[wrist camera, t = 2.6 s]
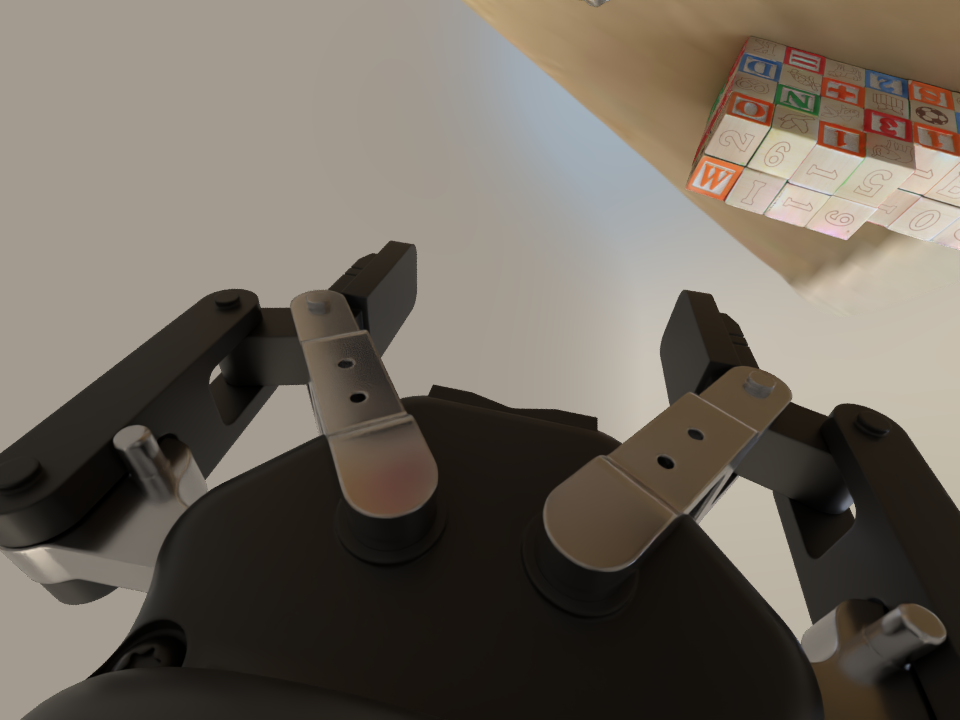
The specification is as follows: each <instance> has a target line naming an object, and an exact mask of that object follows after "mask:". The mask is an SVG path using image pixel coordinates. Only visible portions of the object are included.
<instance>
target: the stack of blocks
mask: <svg viewBox="0 0 960 720" xmlns="http://www.w3.org/2000/svg"><path fill="white" fill-rule="evenodd" d="M685 189H687V190H690V191H693V192H696V193H699V194H703V195H706V196H708V197H712V198H715V199H718V200H721V201H722V200H724V202H725V203H726V204H728V205H732V206H735V207H738V208H741V209H745V210H748V211H751V212H754V213H758V214H764V215H765V216H766V217H770V218H773V219H776V220H780V221H783V222H786V223H790V224H793V225H796V226H799V227H806V228H808V229H811V230H814V231H817V232H821V233H824V234H827V235H830V236H834V237H837V238H841V239H844V240H847V239H848V238H849V237H850V236H851V235H852V234H853V233H854V232H855V231H856V230H857V229H858V228H859V227H860V226H861V225H862V224H863V223H864V222H865V221H867V222H870V223H873V224H877V225H880V226H883V227H886V228H887V229H889V230H892V231H895V232H899V233H902V234H905V235H908V236H911V237H915V238H918V239H921V240H924V241H932V242H934V243H937V244H940V245H944V246H947V247H950V248H953V249H956V250H960V93H956V92H950V91H949V90H946V89H942V88H939V87H935V86H931V85H928V84H924V83H921V82H917V81H913V80H905V79H901V78H898V77H893V76H890V75H886V74H883V73H879V72H875V71H872V70H865V69H862V68H859V67H856V66H852V65H848V64H844V63H841V62H837V61H833V60H830V59H826V58H825V57H823V56H820V55H817V54H813V53H809V52H806V51H802V50H799V49H795V48H791V47H786V46H784V45H782V44H778V43H774V42H771V41H767V40H764V39H760V38H756V37H752V36H749V37H748V39H747V40H746V42H745V44H744V46H743V48H742V50H741V52H740V54H739V56H738V58H737V60H736V62H735V64H734V66H733V68H732V70H731V72H730V74H729V77H728V79H727V81H726V83H725V84H724V86H723V88H722V90H721V92H720V94H719V96H718V98H717V100H716V102H715V104H714V105H713V107H712V109H711V112H710V115H709V118H708V121H707V124H706V128H705V130H704V133H703V136H702V139H701V142H700V145H699V147H698V149H697V152H696V155H695V158H694V161H693V164H692V169H691V172H690V175H689V178H688V181H687V184H686V187H685Z"/></svg>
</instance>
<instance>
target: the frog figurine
mask: <svg viewBox="0 0 960 720" xmlns="http://www.w3.org/2000/svg"><path fill="white" fill-rule="evenodd" d="M585 1H586V2H587V3H588V4H589V5H590V6H594V7H599V6H600V5H602V4H603V3H605V2H607V1H609V0H585Z"/></svg>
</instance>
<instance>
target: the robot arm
mask: <svg viewBox="0 0 960 720" xmlns="http://www.w3.org/2000/svg"><path fill="white" fill-rule="evenodd" d="M416 253H417V252H416V247H415V245H414V244H408V243H402V242H396V241H389V242H388V243H387V244H386V246H385V247H384V248H383V249H382V250H381V251H380V252H379V253H378V254H375V253H372V254H369V255H367V256H365V257H362V258H360V259H359V260H358V261H357V262H356V263H355V264H354V265H353V266H352V267H351V268H350V269H348V270H347V271H346V272H345V275H342V276H341V277H340V278H339V279H338V280H337V281H336V282H335V283H334V284H333V285H332V286H331V287H330V288H329V289H328V290H314V291H308V292H305V293H302V294H300V295H298V296H297V297H295V298H294V299H293V300H292V301H291V303H290V308H261V307H260V304H259V300H258V296H257V295H256V294H255V293H253V292H251V291H248V290H244V289H228V290H222V291H218V292H214V293H212V294H209V295H207V296H206V297H204V298H202V299H201V300H200V301H198V302H197V303H196V304H195V305H193V306H192V307H191V308H190V309H188V310H187V311H185V312H184V313H183V314H182V315H180V316H179V317H178V318H177V319H175V320H174V321H172V322H171V323H170V324H169V325H167V326H166V327H165V328H163V329H162V330H161V331H160V332H158V333H157V334H156V335H154V336H153V337H152V338H150V339H149V340H148V341H146V342H145V343H144V344H142V345H141V346H140V347H139V348H137V349H136V350H135V351H133V352H132V353H131V354H130V355H128V356H127V357H126V358H124V359H123V360H122V361H120V362H119V363H118V364H116V365H115V366H114V367H113V368H111V369H110V370H109V371H107V372H106V373H105V374H103V375H102V376H101V377H99V378H98V379H97V380H96V381H94V382H93V383H92V384H90V385H89V386H88V387H87V388H85V389H84V390H83V391H81V392H80V393H79V394H78V395H76V396H75V397H74V398H72V399H71V400H70V401H68V402H67V403H66V404H64V405H63V406H62V407H60V408H59V409H58V410H57V411H55V412H54V413H53V414H51V415H50V416H49V417H48V418H46V419H45V420H43V421H42V422H41V423H40V424H38V425H37V426H36V427H34V428H33V429H32V430H31V431H29V432H28V433H27V434H25V435H24V436H23V437H21V438H20V439H19V440H17V441H16V442H15V443H13V444H12V445H11V446H10V447H8V448H7V449H6V450H4V451H3V452H2V453H0V551H1V552H2V553H3V554H4V555H5V556H6V557H7V558H8V559H9V560H11V561H12V562H13V563H14V564H15V565H16V566H17V567H18V568H19V569H20V570H21V571H23V572H24V573H25V574H26V575H27V576H28V577H29V578H31V580H33V581H35V582H38V583H40V584H41V585H42V586H43V587H45V588H46V589H47V590H48V591H49V592H50V593H51V594H52V595H53V596H54V597H55V598H56V599H58V600H59V601H60V602H62V603H65V604H69V605H79V604H85V603H89V602H92V601H95V600H98V599H100V598H102V597H104V596H106V595H108V594H109V593H111V592H112V591H114V590H115V589H117V588H118V587H121V588H127V589H131V590H136V591H141V592H146V593H147V596H146V599H145V601H144V603H143V606H142V608H141V610H140V613H139V615H138V617H137V619H136V621H135V623H134V624H133V626H132V628H131V630H130V632H129V634H128V635H127V637H126V638H125V640H124V641H123V642H122V644H121V645H120V646H119V647H118V649H117V650H116V651H115V652H114V653H113V654H112V655H111V657H110V658H109V659H108V660H107V661H106V662H105V663H104V664H103V665H102V666H101V667H100V668H98V669H97V670H96V671H95V672H94V673H93V674H92V675H90V676H89V677H88V678H87V679H86V680H84V681H82V682H80V683H77V684H75V685H73V686H71V687H69V688H67V689H65V690H62V691H61V692H59V693H57V694H56V695H54V696H52V697H50V698H49V699H47V700H45V701H44V702H42V703H41V704H40V705H38V706H37V707H36V708H34V709H33V710H32V711H30V712H29V713H28V714H27V715H25V716H24V717H23V718H22V719H21V720H960V511H959V510H958V508H957V507H956V505H955V504H954V502H953V501H952V499H951V498H950V496H949V495H948V494H947V492H946V491H945V489H944V488H943V486H942V485H941V483H940V482H939V480H938V479H937V478H936V476H935V474H934V473H933V471H932V470H931V469H930V467H929V466H928V464H927V463H926V462H925V460H924V458H923V457H922V455H921V454H920V452H919V451H918V450H917V448H916V447H915V445H914V443H913V442H912V441H911V439H910V438H909V436H908V435H907V433H906V432H905V431H904V430H903V429H902V428H901V427H900V426H899V425H898V424H897V423H896V422H894V421H893V420H891V419H890V418H888V417H887V416H885V415H883V414H881V413H879V412H877V411H875V410H873V409H870V408H867V407H865V406H861V405H856V404H848V403H847V404H840V405H838V406H836V407H835V408H834V410H833V411H832V412H831V414H830V415H829V416H826V415H823V414H820V413H818V412H815V411H812V410H809V409H807V408H804V407H801V406H799V405H796V404H794V403H792V402H790V401H791V400H792V393H791V390H790V389H789V388H788V386H787V385H786V384H785V383H784V382H783V381H781V380H780V379H779V378H777V377H776V376H774V375H772V374H770V373H768V372H766V371H763V370H761V369H759V367H758V365H757V362H756V361H755V358H754V356H753V354H752V352H751V350H750V348H749V347H748V344H747V342H746V339H745V338H743V336H744V335H743V333H742V331H741V329H740V327H739V325H738V324H737V323H736V322H735V321H734V320H733V319H732V318H730V317H729V316H728V315H727V314H724V313H720V312H719V310H718V308H717V305H716V303H715V301H714V298H713V296H712V295H711V294H707V293H701V292H695V291H689V290H683V291H682V292H681V293H680V295H679V297H678V300H677V302H676V304H675V307H674V310H673V312H672V314H671V317H670V319H669V322H668V324H667V327H666V329H665V332H664V335H663V337H662V341H661V346H660V357H661V362H662V367H663V373H664V377H665V383H666V388H667V393H668V399H669V403H670V407H668V408H667V409H666V410H665V411H663V412H662V413H661V414H659V415H658V416H657V417H656V418H654V419H653V420H652V421H651V422H649V423H648V424H647V425H646V426H644V427H643V428H642V429H641V430H639V431H638V432H637V433H635V434H634V435H633V436H632V437H630V438H629V439H628V440H627V441H625V442H624V443H623V444H622V443H621V442H619V441H617V440H616V439H614V438H613V437H611V436H609V435H607V434H605V433H603V432H600V431H598V430H597V418H596V417H591V416H585V415H581V414H576V413H571V412H566V411H561V410H556V409H515V408H510V407H507V406H504V405H502V404H499V403H497V402H495V401H492V400H489V399H487V398H485V397H482V396H480V395H477V394H475V393H472V392H467V391H462V390H458V389H453V388H448V387H442V386H438V385H433V386H432V388H431V390H430V392H429V395H428V396H412V397H406V398H402V399H400V398H399V396H398V394H397V392H396V390H395V388H394V385H393V383H392V381H391V379H390V377H389V375H388V373H387V371H386V369H385V366H384V364H383V362H382V360H381V357H382V355H383V354H384V352H385V351H386V349H387V348H388V346H389V344H390V343H391V341H392V340H393V338H394V337H395V335H396V334H397V332H398V331H399V329H400V327H401V326H402V324H403V323H404V321H405V320H406V318H407V317H408V315H409V314H410V312H411V311H412V309H413V307H414V304H415V301H416V294H417V254H416ZM218 364H219V366H220V369H221V371H222V372H221V373H220V374H219V375H218V376H217V378H216V379H215V380H214V381H213V382H212V383H211V384H210V385H209V380H210V376H211V373H212V371H213V369H214V368H215V367H216V366H217V365H218ZM304 384H306V385H307V390H308V393H309V397H310V402H311V405H312V409H313V413H314V417H315V421H316V425H317V429H318V433H319V436H318V437H316V438H314V439H312V440H310V441H308V442H306V443H304V444H302V445H300V446H298V447H296V448H294V449H292V450H290V451H287V452H285V453H283V454H281V455H279V456H277V457H275V458H273V459H271V460H269V461H267V462H265V463H263V464H261V465H259V466H257V467H255V468H253V469H251V470H249V471H247V472H245V473H243V474H240V475H238V476H236V477H234V478H232V479H230V480H228V481H226V482H224V483H222V484H220V485H219V486H217V487H215V488H213V489H211V490H210V491H208V492H207V484H206V481H205V480H206V478H207V477H208V476H209V475H210V473H211V472H212V471H213V469H214V468H215V467H216V466H217V464H218V463H219V462H220V460H221V459H222V458H223V456H224V455H225V454H226V453H227V451H228V450H229V449H230V448H231V446H232V445H233V444H234V442H235V441H236V440H237V439H238V437H239V436H240V435H241V434H242V432H243V431H244V429H245V428H246V427H247V426H248V425H249V423H250V422H251V421H252V419H253V418H254V417H255V415H256V414H257V413H258V412H259V410H260V409H261V408H262V407H263V405H264V404H265V403H266V401H267V400H268V399H269V398H270V396H271V395H272V394H273V393H274V391H275V390H276V389H277V387H278V385H304ZM739 476H741V477H744V478H746V479H748V480H750V481H753V482H755V483H757V484H759V485H761V486H764V487H766V488H768V489H771V490H773V496H774V499H775V502H776V505H777V509H778V512H779V515H780V518H781V522H782V525H783V529H784V532H785V535H786V539H787V542H788V545H789V548H790V552H791V555H792V558H793V561H794V565H795V568H796V571H797V575H798V578H799V581H800V584H801V588H802V591H803V595H804V598H805V601H806V604H807V608H808V611H809V614H810V618H811V621H812V624H813V626H812V627H810V628H809V629H808V630H806V632H805V633H804V634H803V637H802V640H801V644H800V643H799V641H798V640H797V638H796V637H795V635H794V634H793V633H792V631H791V630H790V629H789V627H788V626H787V625H786V623H785V622H784V621H783V620H782V619H781V617H780V616H779V615H778V614H777V613H776V612H775V611H774V610H773V608H772V607H771V606H770V605H769V604H768V603H767V602H766V600H765V599H764V598H763V597H762V596H761V595H760V594H759V593H758V592H757V590H756V589H755V588H754V587H753V586H752V585H751V584H750V583H749V581H748V580H747V579H746V578H745V577H744V576H743V575H742V573H741V572H740V571H739V570H738V569H737V568H736V567H735V566H734V564H733V563H732V562H731V561H730V560H729V559H728V558H727V557H726V555H725V554H724V553H723V552H722V551H721V550H720V549H719V548H718V546H717V545H716V544H715V543H714V542H713V541H712V540H711V539H710V538H709V536H708V535H707V534H706V533H705V532H704V531H703V530H702V528H701V527H700V526H699V525H698V524H699V523H700V521H701V520H702V519H703V518H704V516H705V515H706V514H707V513H708V512H709V511H710V509H711V508H712V507H713V506H714V505H715V504H716V503H717V501H718V500H719V499H720V498H721V497H722V495H724V493H725V492H726V491H727V490H728V489H729V488H730V486H731V485H732V484H733V483H734V482H735V481H736V479H737V478H738V477H739ZM853 503H854V504H855V507H856V518H855V519H854V517H853V514H852V512H851V510H850V508H849V507H850V506H851V505H852V504H853Z"/></svg>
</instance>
